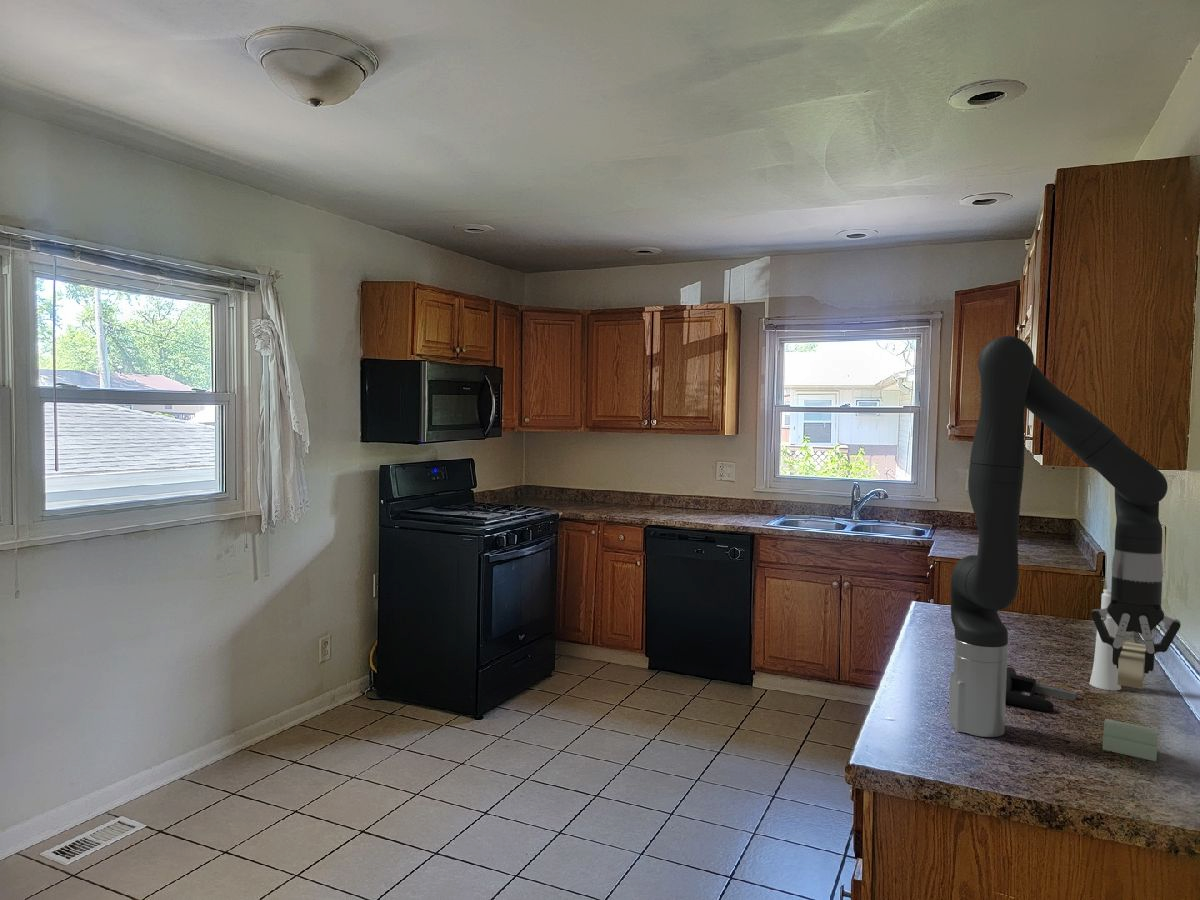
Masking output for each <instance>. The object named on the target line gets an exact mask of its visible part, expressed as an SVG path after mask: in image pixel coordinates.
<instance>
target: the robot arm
mask: <svg viewBox="0 0 1200 900" xmlns="http://www.w3.org/2000/svg"><path fill="white" fill-rule="evenodd" d="M977 361H978V362H977V368H978V372H979V376H980V407H979V408H980V409H979V416H978V420H977V423H976V428H975V432H974V436H973V441H972V446H971V451H970V452H971V453H970V457H969V458H970V459H969V466H968V467H969V469H968V479H967V480H968V481H967V484H968V485H967V486H968V487H967V488H968V495H969V499H970V504H971V508H972V511H973V514H974V517H975V521H976V525H977V530H978V546H977V555H975V554H972V555H966V556H964V557H963V558H960V560H958V562H957V563H956V564H955V566H954V567H953V570H952V573H951V577H950V617H951V618H950V619H951V622H952V626H953V628H954V653H953V655H954V656H953V672H951V673H950V676H949V678H950V679H949V701H948V702H949V706H948V707H949V708H948V721H949V722H950V724H951V726H953V728H954V729H955V730H956V732H958V733H965V734H969V735H972V736H977V737H983V738H997V737H1001V736H1002V735H1004V734H1005V730H1006V729H1005V728H1006V709H1007V708H1006V704H1007V703H1006V679H1007V667H1008V649H1009V648H1008V646H1009V631H1008V629H1007V627H1006V626H1005V625H1004V623H1003V621H1002V619H1001V618H1000V616H999V612H998V611H1002V610H1005V609H1007V608H1008V607H1009V606H1010V605H1011V604H1012V603H1013V602H1014V601H1015V599H1016V596H1017V594H1018V590H1019V581H1020V578H1019V575H1020V573H1019V547H1018V546H1019V545H1018V544H1019V543H1018V542H1019V541H1018V540H1019V526H1020V510H1021V498H1022V489H1023V483H1024V469H1025V468H1024V467H1025V449H1026V448H1025V446H1026V445H1025V418H1024V417H1025V415H1024V414H1025V408H1026V409H1027V410H1028V411H1029V412H1031V413H1032V414H1033V415H1034V416H1035V417H1036V418H1037V419H1039V421H1041V423H1043V424H1044V425H1045V427H1046V428H1048V429H1049V430H1050V431H1051V432H1052V434H1054V435H1055V436H1056V437H1057V438H1058V439H1059V440H1060V441H1061V442H1062V443H1063V444H1064V445H1065V446H1066V447H1068V448H1069V450H1071V451H1072V452H1073V453H1074V454H1075V455H1076V456H1077V457H1078V458H1079V459H1081V461H1083V462H1084V463H1085V464H1086V465H1087V466H1089V467H1091V468H1092V469H1093V470H1095V471H1097V473H1099V474H1100V475H1102V477H1103V478H1104V479H1105V480H1106V481H1107V482H1108V483H1109V484H1110V485H1111V486H1112V487H1113V488H1114V504H1115V505H1114V506H1115V516H1116V522H1115V523H1116V525H1115V530H1114V532H1115V533H1114V534H1115V535H1114V550H1113V557H1112V563H1111V565H1112V566H1111V586H1110V587H1111V588H1110V589H1111V602H1110V604H1109V605H1108V607H1107V608H1104V609H1101V608H1099V609H1098V608H1094V609H1092V611H1091V613H1090V614H1091V617H1092V620H1093V622H1094V625H1095V627H1096V631H1097V630H1098V633H1099V635H1100V638H1101V640H1102V642H1103V643H1107V644H1109V645H1111V646H1112V648H1113V658H1112V662H1113V665H1117V669H1118V662H1119V656H1120V653H1121V651H1122V649H1123V646H1122V643H1123V640H1124V637H1125V634H1126V633H1127V632H1135V633H1137V634H1141V635H1142V637H1143V642H1144V645H1145V646H1146V651H1145V666H1144V673H1145V675H1146V674H1149V673H1150V672H1153V671H1154V668H1155V667H1154V666H1155V654H1156V653H1161V652H1162V653H1166V652H1167V651H1168V649H1169V648H1170V645H1171V644H1172V642H1173V640H1174V639H1175V637H1176V635H1177V633H1178V632H1179V631H1180V628H1181V625H1182V624H1181V620H1179V619H1174V618H1172V617H1169V616H1167V615H1165V612H1164V610H1163V609H1162V608H1163V607H1162V594H1163V577H1164V572H1163V571H1164V568H1163V567H1164V564H1163V563H1164V562H1163V555H1162V554H1163V553H1162V551H1163V527H1162V524H1161V522H1160V517H1159V515H1160V502H1161V501H1162V500H1163V499H1164V498H1165V497H1166V495H1167V492H1168V489H1169V487H1168V482H1167V479H1166V477H1165V475H1164V474H1163V473H1162V472H1161V471H1160V470H1159V469H1158V468H1157V467H1155V466H1154V465H1153V464H1151V463H1150V461H1148V460H1147V459H1145V458H1144V457H1143V456H1142V455H1141V454H1139V453H1138V452H1136V451H1135V450H1133V449H1132V448H1130V447H1129V445H1127V444H1126V443H1125V442H1124V441H1123V439H1121V437H1119V436H1118V435H1117V434H1116V433H1115V432H1114V431H1113V430H1112V429H1111V428H1110V427H1108V426H1107V425H1106V424H1105V423H1104V422H1103V421H1101V420H1100V419H1099V418H1098V417H1097V416H1095V414H1093V413H1092V412H1091V411H1089V410H1088V409H1086V408H1085V407H1084V406H1083V405H1081V404H1079V403H1078V402H1077V401H1075V400H1073V399H1072V398H1071V397H1070V396H1068V395H1067V394H1065V393H1064V392H1063V391H1062V390H1060V389H1059V388H1058V387H1057V386H1055V384H1053V383H1052V382H1051V381H1050V380H1049V379H1048V378H1047V377H1046V376H1045V375H1044V374H1043V373H1042V371H1041V370H1040V368H1038V366H1037V365H1036V364H1035V357H1034V354H1033V350H1032V348H1031V346H1029V345H1028V343H1026V341H1024V340H1023V339H1021V338H1019V337H1016V336H1012V335H1004V336H998V337H997V338H995V339H993V340H991V341H989V342H987V344H986V345H985V346H984V347H983V349H982V350H981V351H980V353H979V356H978V359H977ZM1107 614H1109V615H1110V616H1111V617H1112V619H1113V620H1114V621H1115V623H1116V624H1117V625H1118V630H1117V633H1116V636H1115V638H1113V637H1111V636H1110V635H1109V633H1108V630H1107V628H1106V625H1105V623H1104V621H1105V620H1106V618H1107V616H1106V615H1107ZM1161 622H1163V623H1164V626H1163V627H1164V629H1165V630H1166V631H1165V634H1164V635H1163V636H1162V639H1161V640H1160V642H1158V643H1155V641H1154V636H1153V630H1154V629H1155V628H1156V627H1157V626H1159V624H1161Z"/></svg>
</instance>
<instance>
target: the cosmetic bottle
mask: <svg viewBox="0 0 1200 900" xmlns="http://www.w3.org/2000/svg"><path fill="white" fill-rule="evenodd" d="M1100 598H1101V599H1100V600H1101V602H1100V603H1101V604H1100V609H1104V608H1107V607H1108V605H1109V604H1110V602H1111V588H1110V589H1109V588H1105V589H1104V588H1103V591H1102V593H1101V597H1100ZM1106 616H1107V618H1106V620H1105V621H1104V623H1105V625H1106V628H1107V630H1108V633H1109V635H1110V636H1111V637H1113V638H1115V636H1116V633H1117V630H1118V625H1117V624H1116V623H1115V621H1114V620H1113V619H1112V617H1111V616H1110V615H1109V614H1107V615H1106ZM1112 658H1113V648H1112V646H1111V645H1109V644H1107V643H1103V642H1102V640H1101V638H1100V635H1099V633H1098V630H1097V629H1096V638H1095V648H1094V656H1093V665H1092V671H1091V676H1090V680H1089V685H1090V686H1091V687H1093V688H1096V689H1098V690H1099V689H1100V690H1103V691H1109V690H1110V692H1111V691H1113V692H1114V691H1117V690H1118V691H1121V690H1122V685H1118V669H1117V665H1113V662H1112ZM1118 691H1117V692H1118Z"/></svg>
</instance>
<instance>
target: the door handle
mask: <svg viewBox="0 0 1200 900" xmlns="http://www.w3.org/2000/svg"><path fill="white" fill-rule="evenodd" d="M1012 690H1013V691H1012ZM1016 690H1017V692H1014V691H1016ZM1019 692H1022V693H1028V694H1029V695H1028V694H1027V695H1026V694H1022V693H1019ZM1035 693H1036V694H1039V695H1043V696H1050V697H1055V698H1061V699H1065V700H1071V701H1077V694H1078V693H1077V691H1076V692H1075V691H1071V690H1067V689H1062V688H1060V687H1059V688H1058V687H1053V686H1049V685H1047V684H1046V685H1044V684H1041V683H1037V679H1036V678H1030V677H1028V676H1027V677H1026V676H1024V675H1023V676H1022V675H1018V674H1017V671H1016V670H1015V669H1014V668H1013V667H1012V666H1007V679H1006V704H1008V705H1009V704H1010V705H1013V706H1016V707H1017V706H1018V707H1020V708H1021V707H1022V708H1025V709H1030V710H1033V709H1034V711H1037V710H1038V712H1042V711H1043V713H1046V712H1047V713H1049V714H1050V713H1052V712H1053V711H1054V707H1055V706H1054V704H1053V702H1051V701H1050V700H1048V699H1043V698H1039V697H1036V696H1034V694H1035ZM1047 713H1046V714H1047Z"/></svg>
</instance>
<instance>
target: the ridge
mask: <svg viewBox="0 0 1200 900" xmlns="http://www.w3.org/2000/svg"><path fill="white" fill-rule="evenodd" d="M1158 732H1159V729H1158V728H1153V727H1148V726H1144V725H1138V724H1134V723H1133V724H1132V723H1128V722H1124V721H1120V720H1114V719H1108V718H1105V719H1104V721H1103V735H1102V749H1103V751H1107V752H1111V751H1112V752H1113V753H1117V754H1121V755H1127V756H1129V757H1130V756H1131V757H1134V758H1140V759H1144V760H1149V761H1152V762H1157V759H1158V758H1157V756H1158V740H1159V739H1158V735H1159V733H1158Z"/></svg>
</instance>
